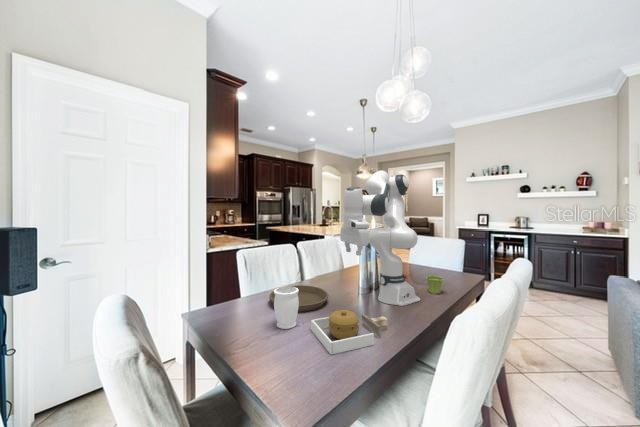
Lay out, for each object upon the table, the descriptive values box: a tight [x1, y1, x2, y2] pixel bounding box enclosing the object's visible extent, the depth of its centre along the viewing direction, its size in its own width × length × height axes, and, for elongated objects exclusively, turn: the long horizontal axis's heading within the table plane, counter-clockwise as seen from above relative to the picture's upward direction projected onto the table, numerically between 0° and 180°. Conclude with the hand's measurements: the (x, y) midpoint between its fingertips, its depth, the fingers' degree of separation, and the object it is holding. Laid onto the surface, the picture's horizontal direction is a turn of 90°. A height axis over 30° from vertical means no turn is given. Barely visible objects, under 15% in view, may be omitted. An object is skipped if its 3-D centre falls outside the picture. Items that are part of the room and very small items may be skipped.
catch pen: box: [310, 316, 375, 355], centre depth 101 cm, size 17×20×4 cm
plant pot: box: [425, 275, 444, 295], centre depth 154 cm, size 9×9×9 cm
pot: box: [328, 309, 360, 340], centre depth 102 cm, size 12×12×10 cm
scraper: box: [361, 314, 389, 339], centre depth 107 cm, size 8×12×4 cm, turn 21°
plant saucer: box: [268, 284, 329, 313], centre depth 139 cm, size 31×31×5 cm
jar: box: [273, 286, 299, 330], centre depth 112 cm, size 11×10×15 cm
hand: (353, 253), depth 118 cm, fingers open, 8 cm apart
